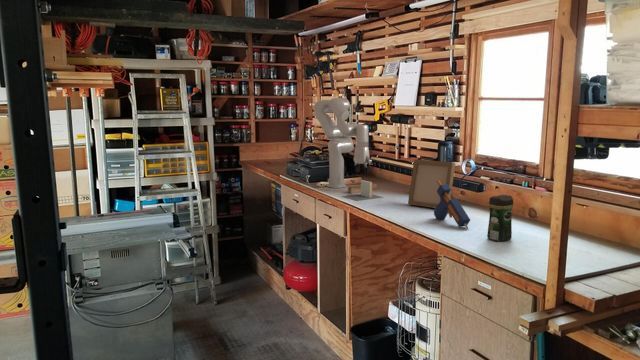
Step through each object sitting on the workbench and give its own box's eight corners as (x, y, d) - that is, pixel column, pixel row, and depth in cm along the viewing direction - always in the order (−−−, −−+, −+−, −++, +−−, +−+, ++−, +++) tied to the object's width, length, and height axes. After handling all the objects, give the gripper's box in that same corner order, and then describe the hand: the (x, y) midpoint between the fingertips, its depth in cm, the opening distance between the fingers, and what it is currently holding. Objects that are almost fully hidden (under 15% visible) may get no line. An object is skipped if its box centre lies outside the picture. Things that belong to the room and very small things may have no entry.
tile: (360, 195, 294) (360, 180, 293) (362, 194, 295) (362, 180, 294) (369, 197, 287) (370, 182, 286) (371, 197, 288) (372, 182, 286)
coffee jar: (498, 235, 211) (501, 192, 208) (514, 239, 204) (517, 195, 201) (483, 238, 206) (485, 194, 203) (499, 243, 199) (502, 198, 196)
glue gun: (454, 248, 227) (467, 227, 217) (421, 199, 246) (432, 178, 236) (464, 245, 229) (478, 224, 219) (430, 198, 248) (442, 177, 238)
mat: (340, 197, 291) (340, 196, 291) (367, 193, 302) (367, 192, 301) (356, 202, 278) (356, 201, 278) (384, 198, 288) (384, 197, 288)
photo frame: (445, 211, 255) (448, 163, 252) (407, 205, 268) (409, 160, 265) (456, 206, 267) (459, 160, 263) (419, 201, 280) (421, 158, 276)
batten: (348, 194, 301) (348, 186, 301) (373, 191, 313) (373, 183, 312) (351, 195, 299) (351, 187, 298) (376, 191, 310) (376, 183, 309)
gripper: (348, 144, 306) (349, 171, 308) (365, 146, 291) (365, 174, 293) (358, 143, 309) (358, 171, 312) (375, 145, 295) (375, 173, 297)
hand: (362, 172), depth 303 cm, fingers open, 9 cm apart
